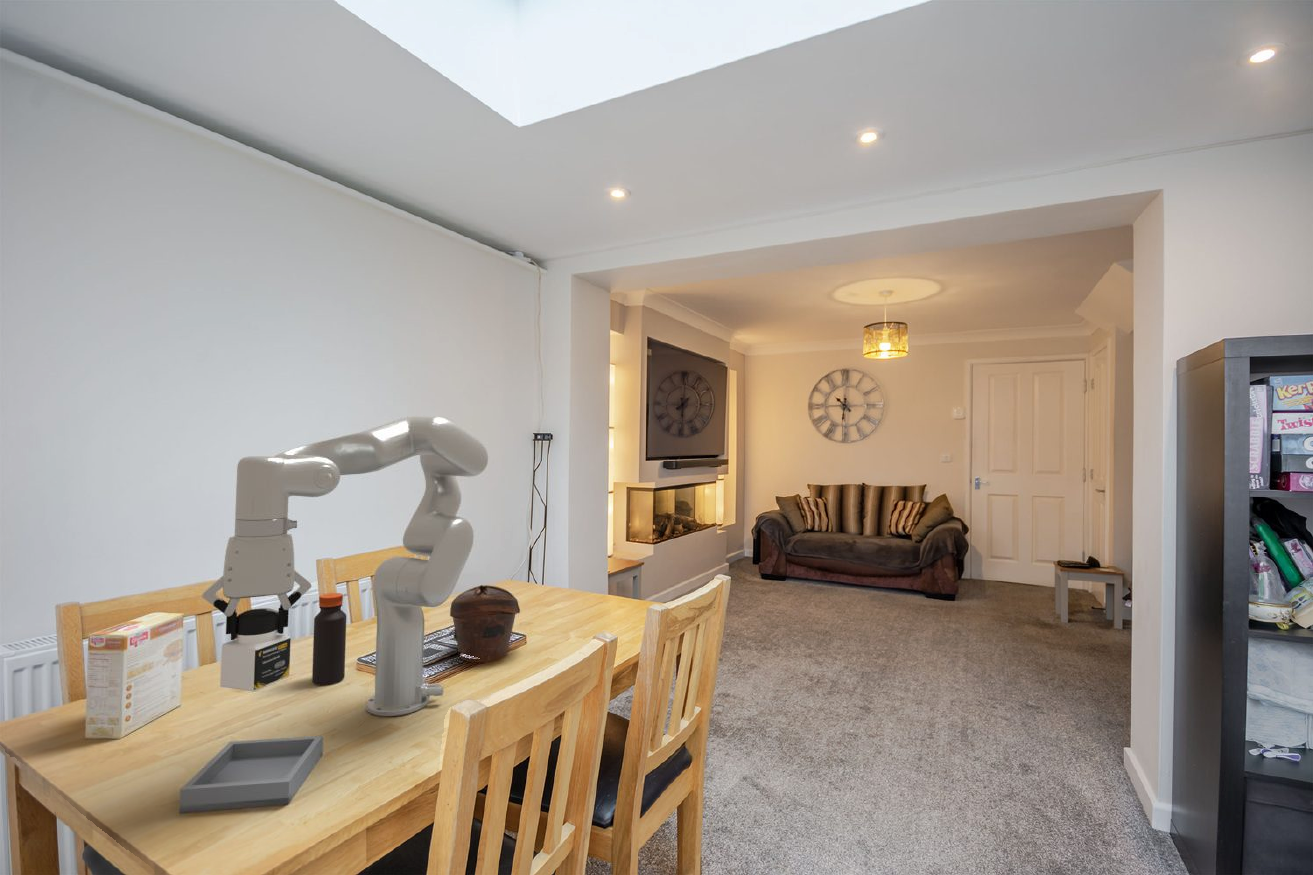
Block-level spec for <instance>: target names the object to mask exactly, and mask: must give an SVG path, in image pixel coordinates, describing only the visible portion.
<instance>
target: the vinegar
mask: <svg viewBox="0 0 1313 875" xmlns="http://www.w3.org/2000/svg"><path fill="white" fill-rule="evenodd" d="M318 598H319V599H318V602H319V603H318V606H319V607H318V608H319V609H320V611H319V612H318V614H316V616H315V617H314V618H313V641H312V642H313V646H312V647H313V648H312V670H311V672H312V674H311V682H312V683H313V685H316V686H329V685H335V684H337V683H340V682H341V681H343V680H344V678H345V677H346V676H345V675H346V672H345V671H346V670H345V669H346V647H347V646H346V642H347V641H346V640H347V614H346V613H345V612H344V611H343V610H342V607H343V602H344V601H343V599H344V594H343V593H339V592H330V593H325V594H321V595H319V597H318Z"/></svg>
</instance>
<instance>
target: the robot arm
mask: <svg viewBox="0 0 1313 875" xmlns="http://www.w3.org/2000/svg"><path fill="white" fill-rule="evenodd" d="M414 456H419V462H420V465H421V470H422V471H423V472H422V473H423V475H424V481H425V490H424V494H423V496H422V497H421V498H422V499H421V500H420V502H419V504H418V506H417V508H416V509H415V512H414V513H413V515H412V517H411V518H410V521H409V522H408V524H407V526H406V529H405V531H404V534H403V537H402V545H403V547H404V549H405V550H406V551H407V552H408V553H411V554H413V555H417V556H421V557H428V559H421V558H415V557H409V556H408V557H407V556H394V557H391V558H390V557H389V558H387V559H386V560H384V561H382V562H381V563H380V564H379V566H377V568H376V570H375V571H374V574H373V578H372V589H373V595H374V601H375V608H376V637H375V639H376V640H375V641H376V643H375V672H374V673H375V674H374V675H375V676H374V694H373V695H372V696H371V697H369V698H368V700H367V701H366V705H365V707H366V711H367V712H368V713H370V714H371V715H374V716H379V717H395V716H396V717H397V716H402V715H403V716H404V715H407V714H411V713H414V712H417V711H419V710H421V709H423V708H424V707H426V706H427V705H428V703H429V702H430V699H431V698H430V696H433V697H439V696H440V697H441V696H443V694H444V686H443V685H442V686H440V682H434V683H429V682H427V677H426V676H424V673H423V672H424V649H425V648H424V644H425V643H424V642H425V615H424V611H423V607H424V608H436V607H439V606H441V605H442V604H444V603H445V602H446V601H447V600H448V599H449V597H450V596H451V594H452V593H453V590H454V589H455V587H456V585H457V582H458V580H459V578H460V575H461V573H462V571H463V569H464V568H465V565H466V563H467V560H468V558H469V556H470V553H471V552H472V548H473V545H474V539H475V538H474V537H475V536H474V530H473V529H474V528H473V526H472V524H471V523H470V522H469V521H468V520H467V519H465V518H464V517H460V516H457V514H458V511H459V508H460V506H461V504H462V503H461V502H462V493H461V489H460V486H459V483H458V480H457V477H466V478H467V477H469V478H471V477H476V476H478V475H481V474H482V473H483V472H484V471H485V469H486V468H487V466H488V462H489V454H488V450H487V448H486V447H485V445H484V444H483V443H482V442H481V441H480V439H477V438H476V437H475V436H473V435H472V434H471V433H470V432H467V431H466V430H465V429H463V428H462V427H460V426H459V425H457V424H456V423H454V422H453V421H450V420H449V419H447V418H444V417H442V416H417V415H415V416H406V417H403V418H400V419H396V420H394V421H391V422H388V423H385V424H382V425H379V426H376V427H373V428H370V429H367V430H363V431H360V432H355V433H351V434H347V435H343V436H339V437H335V438H331V439H326V440H322V441H317V442H312V443H308V444H305V445H303V446H298V447H296V448H292V449H290V450H286V451H284V452H281V453H278V454H276V455H274V456H267V455H265V456H264V455H263V456H262V455H259V456H258V455H257V456H255V455H254V456H253V455H251V456H245V457H242V458H241V459H239V461H238V463H237V465H236V466H237V468H236V484H235V487H236V488H235V489H236V490H235V491H236V492H235V511H234V512H235V513H234V515H235V516H234V517H235V518H234V536H230V537H229V538H228V541H227V545H226V549H225V556H224V564H223V571H222V573H223V574H222V576H220V578H218V579H217V580H216V581H215V582H214V583H213V584H211V585H210V586H209V587H208V588H207V589H206V590H205V591H204V592H202V595H201V597H202V599H204V600H205V601H207V602H208V603H209V604H211V605H212V606H213V607H215V609H217V610H218V611H220V612H221V613H222V614H224V616H226V619H225V620H226V623H225V626H226V627H225V635H230V641H233V640H236V639H237V638H236V624H237V616H238V613H237V611H236V608H237V606H238V604H239V603H240V601H241V599H248V598H259V597H267V596H268V597H269V596H277V598H278V600H279V602H280V605H279V608H278V609H277V611H278V612H279V624H278V633H277V634H279V635H284V628H288V627H289V613H290V612H289V611H290V609H291V607H292V606H293V605H294V604H295V603H296V602H297V601H299V600H300V599H301V598H302V597H303V595H305V594H306V593H307V592H308V591H309V590H310V589H311V588H312V584H311V582H310V581H308V579H307V578H305V577H303V575H301V574H300V573H299V572H298V571H297V570H295V552H294V541H293V536H292V534H291V533H288V531H290V530H292V529H297V528H298V520H292V519H290V518H288V516H289V515H288V513H289V497H304V498H305V497H307V498H317V497H318V498H319V497H323V496H326V495H329V494H330V493H332V492H333V491H334V490H336V488H337V487H338V485H339V483H340V479H341V476H346V475H347V476H349V475H361V474H363V475H364V474H369V473H373V472H378V471H381V470H383V469H385V468H388V467H391V466H392V465H395V464H398V463H400V462H402V461H404V460H408V459H410V458H412V457H414ZM295 583H296V584H298V585H299V587H298V588H297V589H295V591H293V590H294V586H295ZM221 589H222V595H223V596H224V597H225V598H227V599H229V600H228V602H226V600H224V599H223V598H221V597H219V596H218V595H217V593H218V592H219V591H220V590H221ZM292 591H293V592H292ZM290 592H292V593H291V594H290V595H289V596H288V593H290Z"/></svg>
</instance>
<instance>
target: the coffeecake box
mask: <svg viewBox="0 0 1313 875" xmlns="http://www.w3.org/2000/svg"><path fill="white" fill-rule="evenodd" d="M184 615H185V613H179V612H178V613H177V612H176V613H173V612H172V613H170V612H151V613H148V614H146V615H143V616H142V615H141V616H139V617H137V618H134V619H131V620H128V621H125V622H122V623H118V624H116V625H113V626H110V627H107V628H105V629H101V630H99V631H96V632H92V633H90V634H88V635H87V637H88V641H87V642H88V643H87V644H88V646H87V647H88V648H87V666H86V667H87V668H86V670H87V672H86V673H87V676H86V699H85V700H86V703H85V704H86V706H85V707H86V709H85V711H86V712H85V732H84V733H85V734H84V735H85V736H84V738H85V739H114V740H115V739H116V740H120V739H122V738H124V737H125V736H127V735H129V734H130V733H133V732H134V731H136V730H138V729H140V728H142V727H143V726H146V725H147V724H149V723H151V722H152V721H154V720H157V719H159V718H161V717H162V716H163V715H166V714H167V713H169V712H171V711H172V710H175V709H176V708H178V707H180V706H181V705H182V677H183V676H182V675H183V642H184Z"/></svg>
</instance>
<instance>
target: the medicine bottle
mask: <svg viewBox="0 0 1313 875" xmlns="http://www.w3.org/2000/svg"><path fill="white" fill-rule="evenodd" d="M278 624H279V612H278V609H273V608H271V607H270V608H268V607H262V608H261V607H260V608H259V607H258V608H252V609H249V610H245V611H243V612H241V613H239V614H237V624H236V639H234V640H230V641H228V642H225V643H222V645H221V651H220V652H221V653H220V654H221V655H220V656H221V659H220V682H219V683H220V684H219V686H220V687H221V688H226V689H227V688H228V689H233V690H238V691H239V690H241V691H247V692H257V691H260V690H261V689H264V688H266V687H268V686H271V685H272V684H275V683H278V682H279V681H281V680H284V679H286V678H288V677H289V676H290V670H291V669H290V668H291V667H290V666H291V663H290V662H291V636H290V635H287V634H286V635H284V634H279V633H278Z"/></svg>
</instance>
